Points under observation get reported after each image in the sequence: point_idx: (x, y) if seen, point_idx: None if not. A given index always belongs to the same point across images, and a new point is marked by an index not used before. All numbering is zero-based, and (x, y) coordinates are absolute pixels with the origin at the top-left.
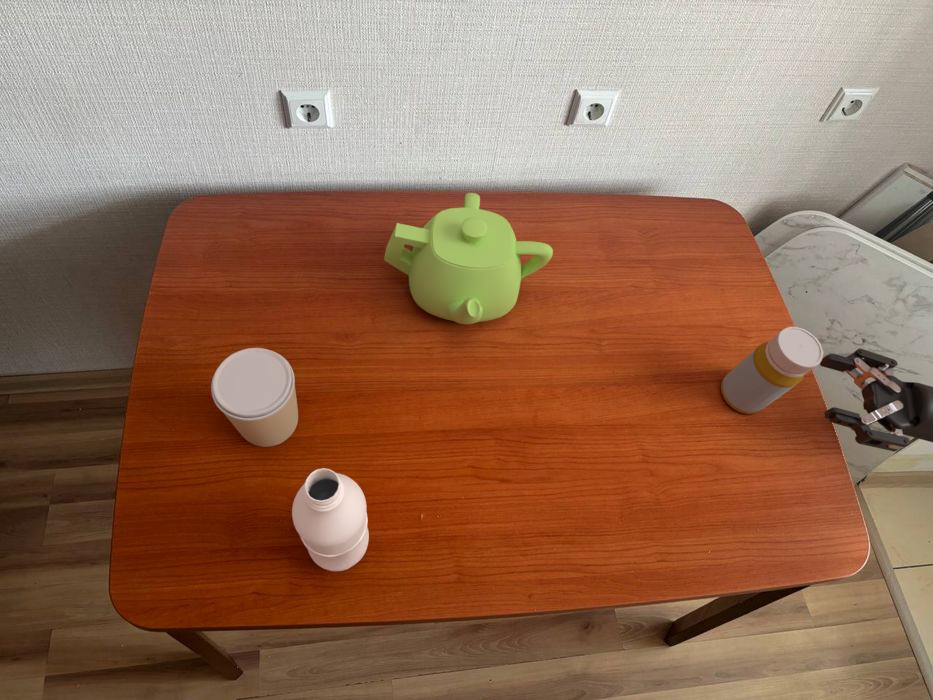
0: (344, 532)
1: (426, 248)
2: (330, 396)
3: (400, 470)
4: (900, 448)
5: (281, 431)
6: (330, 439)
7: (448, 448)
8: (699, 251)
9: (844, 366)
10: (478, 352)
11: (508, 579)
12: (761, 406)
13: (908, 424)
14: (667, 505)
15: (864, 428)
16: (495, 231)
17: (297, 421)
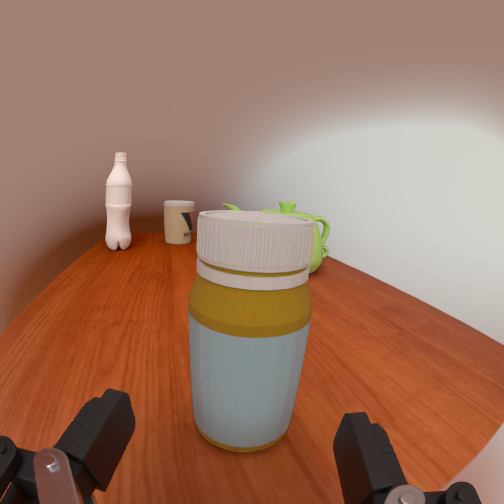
0: (108, 178)
1: None
2: (190, 247)
3: (148, 255)
4: None
5: (167, 228)
6: (167, 247)
7: (158, 262)
8: (464, 359)
9: (357, 483)
10: None
11: (76, 270)
12: (192, 396)
13: None
14: (81, 326)
15: (31, 458)
16: (298, 214)
17: (176, 241)
